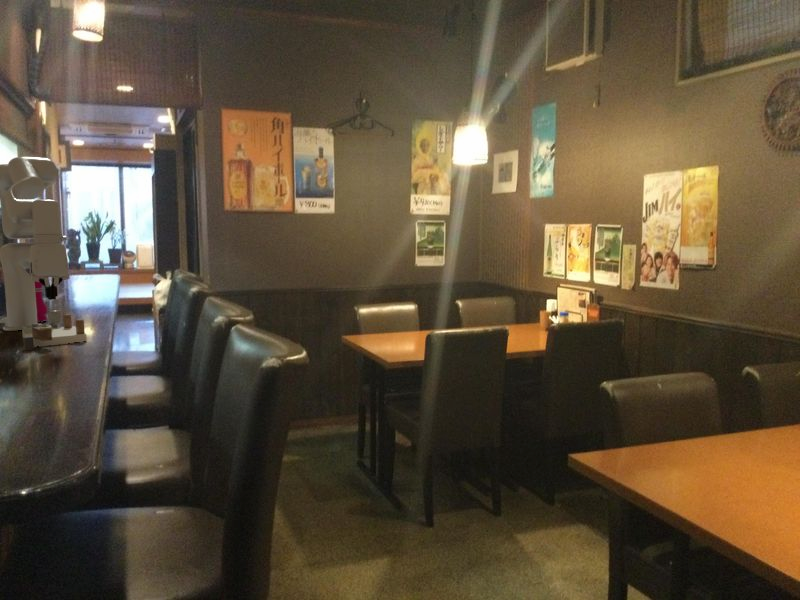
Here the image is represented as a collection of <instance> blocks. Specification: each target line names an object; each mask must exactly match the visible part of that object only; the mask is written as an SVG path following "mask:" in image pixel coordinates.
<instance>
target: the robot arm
mask: <svg viewBox="0 0 800 600" xmlns="http://www.w3.org/2000/svg"><path fill="white" fill-rule="evenodd" d="M57 178H58V168H57V166H56V164H55V162H54V161H53V160H52V159H50V158H46V157H33V156H17V157H14V158H11V159H10V160H9V162H8V163H3V164H0V209H1V213H0V214H1V224H2V225H1V227H2V232H3V235H4V236H5V237H6V238H7V239H12V240H33V242H12V243H11V242H10V243H6V244H4V245H2V246H1V247H0V265H1V268H2V272H3V280H4V296H5V305H6V306H5V307H6V316H5V317H1V318H0V324H5V325H4V326H3V327H2V330H3V331H7V332H13V331H14V332H19V331H18V330H22V326H32V324H38V325H43V324H42V323H41V322H40V323H38V322H37V308H36V294H35V282H34V281H36V282H40V283H41V284H42V285H43V287H44V292H45V297H46V298H47V300H50V301H52V300H56V299H57V297H58V286H59V285H60V284H61V283H62V282H64V281H67V280H70V275H69V274H70V273H69V272H70V271H69V270H70V268H69V260H68V255H67V250H66V246H65V244H63V242H64V241H67V236H66V235H63V234H62V227H61V226H62V225H61V208H60V203H59V202H58V201H57V200H56V199H55V200H54V199H37V198H39V197H40V196H42V195H43V193H44V191H45V190H47V189H49V188H50V187H51V186H53V185H54V183H55V182H56V181H57ZM27 270H29V272H28V271H27ZM37 277H42V278H37ZM49 278H51V283H50V280H49Z"/></svg>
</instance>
